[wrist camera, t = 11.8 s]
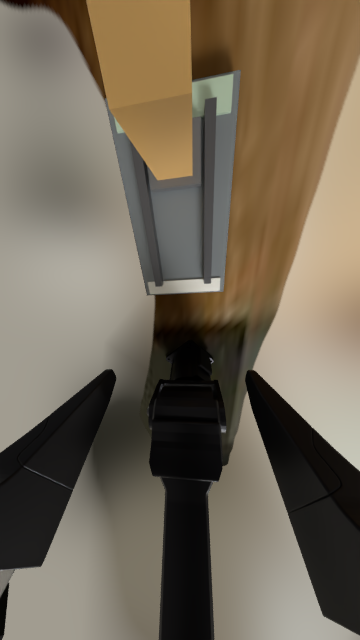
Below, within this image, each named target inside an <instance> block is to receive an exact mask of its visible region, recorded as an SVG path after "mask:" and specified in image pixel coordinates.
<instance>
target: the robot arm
mask: <svg viewBox="0 0 360 640" xmlns="http://www.w3.org/2000/svg"><path fill="white" fill-rule="evenodd" d="M189 343H191V344H189ZM169 358H170V359H169ZM166 360H167V361H168V362H170V363H171V364H172V367H171V374H170V380H163V379H160V380H159V382H158V384H157V386H156V389H155V391H154V394H153V396H152V399H151V401H150V404H149V407H148V409H147V414H148V416H149V428H150V429H152V442H151V451H150V459H149V464H150V468H151V472H152V475H153V476H155V477H160V479H161V481H162V484H163V486H164V489H165V511H164V534H163V557H162V558H163V559H162V581H161V603H160V626H159V640H214V621H213V599H212V579H211V578H212V577H211V556H210V533H209V514H208V513H209V511H208V493H209V491H210V488H211V486H212V484H213V482H218V481H219V478H220V475H221V472H222V441H221V433H226V416H225V408H224V403H223V399H222V395H221V391H220V387H219V383H218V380H214V381H211V378H210V375H212V369H211V363H213V362H214V361H213V358H212V357H210V355H209V354H208V353H207V352H205V351H204V350H203V349H202V348H201V347H199V346H197V345H196V344H195V343H194V342H193V341H187V342H186V343H185V344H183V345H182V346H181V347H179V348H178V349H176V350H175V351H174V352H172V353H171V354H169V355H168V356H167V357H166ZM210 360H211V361H210ZM115 382H116V375H115V373H114V372H113V370H112V369H107V370H105V371H103V372H102V373H101V374H100V375H99V376H97V377H96V378H95V379H94V380H92V381H91V382H90V383H89V384H87V385H86V386H85V387H84V388H83V389H81V390H80V391H79V392H78V393H76V394H75V395H74V396H73V397H72V398H70V399H69V400H68V401H66V402H65V403H64V404H63V405H62V406H60V407H59V408H58V409H57V410H55V411H54V412H53V413H52V414H51V415H50V416H48V417H47V418H45V419H44V420H43V421H42V422H41V423H39V424H38V425H37V426H35V427H34V428H33V429H32V430H31V431H29V432H28V433H26V434H25V435H24V436H22V437H21V438H20V439H18V440H17V441H16V442H14V443H13V444H12V445H10V446H9V447H8V448H6V449H5V450H4V451H2V452H1V453H0V640H2V638H3V635H4V629H5V619H6V609H7V598H8V589H9V583H8V582H9V580H10V578H11V576H12V574H13V573H14V571H15V569H23V568H34V567H41V566H42V564H43V562H44V559H45V557H46V555H47V552H48V550H49V547H50V545H51V543H52V540H53V538H54V535H55V533H56V530H57V528H58V526H59V523H60V521H61V518H62V516H63V514H64V511H65V509H66V506H67V504H68V501H69V499H70V497H71V494H72V491H73V489H74V487H75V484H76V482H77V479H78V477H79V474H80V472H81V469H82V467H83V465H84V462H85V460H86V457H87V455H88V453H89V450H90V448H91V445H92V443H93V440H94V438H95V435H96V433H97V431H98V428H99V426H100V424H101V421H102V419H103V416H104V414H105V411H106V409H107V407H108V404H109V401H110V398H111V395H112V391H113V389H114V385H115ZM245 382H246V386H247V391H248V395H249V399H250V404H251V407H252V411H253V414H254V416H255V419H256V422H257V425H258V428H259V431H260V434H261V437H262V440H263V443H264V445H265V449H266V451H267V454H268V457H269V460H270V463H271V466H272V469H273V472H274V475H275V478H276V481H277V483H278V486H279V489H280V492H281V495H282V498H283V501H284V504H285V507H286V510H287V512H288V516H289V519H290V521H291V524H292V527H293V530H294V533H295V536H296V539H297V542H298V545H299V547H300V550H301V553H302V556H303V559H304V562H305V565H306V568H307V571H308V574H309V577H310V580H311V583H312V585H313V588H314V591H315V594H316V597H317V600H318V603H319V606H320V608H321V611H322V614H323V616H324V617H326V618H328V619H330V620H332V621H334V622H335V623H337V624H339V625H341V626H343V627H345V628H347V629H349V630H350V631H352V632H354V633H356V634H358V635H360V471H359V470H358V469H356V468H355V467H354V466H353V465H352V464H351V463H350V462H348V461H347V460H346V459H345V458H344V457H343V456H342V455H341V454H340V453H339V452H338V451H336V450H335V449H334V448H333V447H332V446H331V445H330V444H329V443H328V442H327V441H326V440H325V439H324V438H323V437H322V436H321V435H320V434H319V433H318V432H317V431H316V430H314V429H313V428H312V427H311V426H310V425H309V424H308V423H307V422H306V421H305V420H304V419H303V418H302V417H301V416H300V415H299V414H298V413H297V412H296V411H295V410H294V409H293V408H292V407H291V406H290V405H289V404H288V403H287V402H286V401H285V400H284V399H283V398H282V397H281V396H280V395H279V394H278V393H277V392H276V391H275V390H274V389H273V388H272V387H271V386H270V385H269V384H268V383H267V382H266V381H265V380H264V379H263V378H262V377H261V376H260V375H259V374H258V373H257V372H256V371H254V370H248V371H247V374H246V378H245Z"/></svg>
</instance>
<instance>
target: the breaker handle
mask: <svg viewBox="0 0 360 640" xmlns="http://www.w3.org/2000/svg"><path fill="white" fill-rule="evenodd" d="M86 2H87V7H88V11H89V16H90V21H91V26H92V30H93V35H94V40H95V45H96V49H97V54H98V59H99V64H100V68H101V73H102V78H103V83H104V87H105V92H106V97H107V102H108V106H109V110H110V111H111V113H112V114H113V116H114V117H115V119H116V120H117V122H118V123H119V125H120V126H121V128H122V129H123V130H124V132H125V133H126V135H127V136H128V138H129V139H130V141H131V142H132V144H133V145H134V147H135V148H136V150H137V151H138V152H139V154H140V155H141V157H142V158H143V160H144V161H145V163H146V164H147V166H148V173H149V180H150V187H151V191H152V192H153V193H155V192H162V191H170V190H178V189H185V188H193V187H200V186H201V116H199V117H194V118H192V63H191V19H190V0H86Z"/></svg>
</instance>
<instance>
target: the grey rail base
mask: <svg viewBox="0 0 360 640" xmlns="http://www.w3.org/2000/svg"><path fill="white" fill-rule="evenodd" d="M240 72H241V70H237V71H233V72H228V73H223V74H219V75H214V76H209V77H204V78H200V79H195V80H192V118H194V117H199V116H201V186H200V187H193V188H185V189H178V190H170V191H162V192H155V193H153V192H152V191H151V187H150V180H149V173H148V166H147V164H146V163H145V161H144V160H143V158H142V157H141V155H140V154H139V152H138V151H137V150H136V148H135V147H134V145H133V144H132V142H131V141H130V139H129V138H128V136H127V135H126V133H125V132H124V130H123V129H122V128H121V126H120V125H119V123H118V122H117V120H116V119H115V117H114V116H113V114H112V113H111V111H110V110H109V106H108V102H107V98H105V102H106V106H107V111H108V116H109V120H110V125H111V130H112V134H113V139H114V144H115V148H116V153H117V157H118V162H119V167H120V171H121V176H122V180H123V185H124V190H125V194H126V199H127V204H128V208H129V213H130V218H131V223H132V227H133V232H134V237H135V241H136V246H137V251H138V255H139V259H140V265H141V269H142V273H143V278H144V283H145V288H146V292H147V295H164V294H183V293H203V292H223V288H224V275H225V263H226V250H227V237H228V225H229V212H230V199H231V187H232V174H233V161H234V149H235V136H236V123H237V110H238V98H239V85H240Z"/></svg>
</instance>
